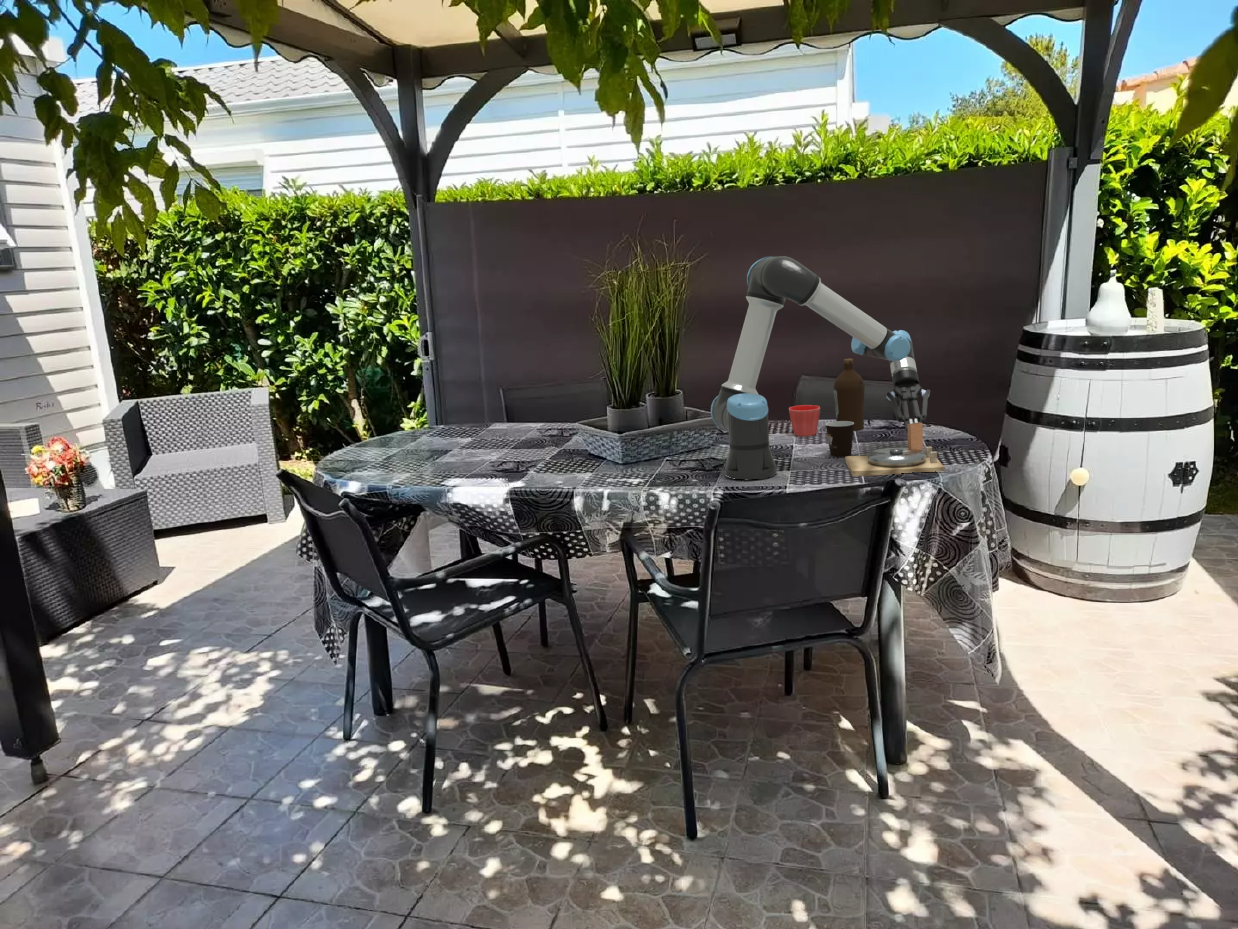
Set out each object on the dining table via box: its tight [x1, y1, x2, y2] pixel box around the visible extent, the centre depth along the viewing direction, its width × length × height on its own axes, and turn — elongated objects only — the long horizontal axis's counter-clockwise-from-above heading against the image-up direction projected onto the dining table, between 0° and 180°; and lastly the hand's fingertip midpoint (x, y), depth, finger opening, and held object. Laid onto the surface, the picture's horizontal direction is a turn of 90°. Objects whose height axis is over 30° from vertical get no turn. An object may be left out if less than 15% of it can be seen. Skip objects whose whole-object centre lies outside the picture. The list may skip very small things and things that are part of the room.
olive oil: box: [833, 358, 866, 432], centre depth 310 cm, size 11×11×25 cm
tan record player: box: [844, 446, 946, 477], centre depth 254 cm, size 25×19×4 cm
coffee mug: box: [825, 420, 855, 458], centre depth 275 cm, size 12×9×10 cm
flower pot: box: [788, 404, 821, 437], centre depth 309 cm, size 11×11×10 cm
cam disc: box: [867, 422, 926, 467], centre depth 253 cm, size 16×16×10 cm
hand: (915, 439), depth 257 cm, fingers closed
